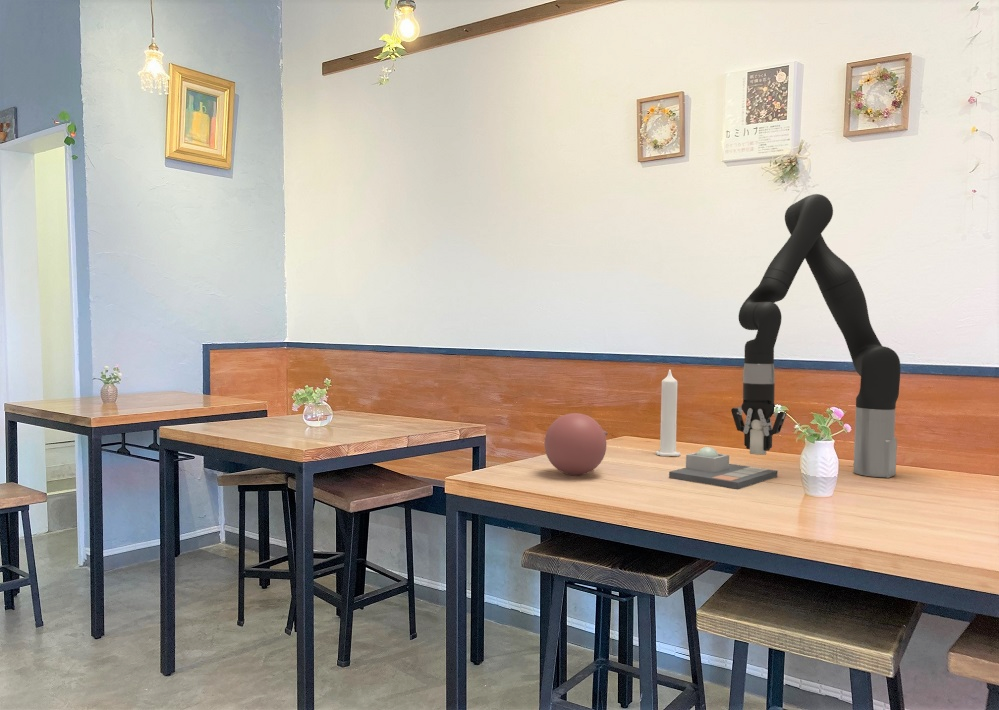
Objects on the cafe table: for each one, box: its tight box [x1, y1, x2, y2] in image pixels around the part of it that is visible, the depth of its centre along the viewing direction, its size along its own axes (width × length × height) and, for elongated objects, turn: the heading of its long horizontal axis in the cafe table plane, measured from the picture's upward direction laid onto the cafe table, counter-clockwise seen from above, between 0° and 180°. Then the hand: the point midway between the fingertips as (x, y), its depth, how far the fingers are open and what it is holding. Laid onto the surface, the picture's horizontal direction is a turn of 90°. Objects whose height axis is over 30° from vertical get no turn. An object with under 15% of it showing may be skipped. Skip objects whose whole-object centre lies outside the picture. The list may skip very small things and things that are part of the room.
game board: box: [668, 451, 778, 490], centre depth 189 cm, size 18×22×5 cm
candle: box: [655, 369, 681, 457], centre depth 221 cm, size 7×7×25 cm
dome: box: [697, 446, 719, 458], centre depth 192 cm, size 5×5×5 cm
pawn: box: [749, 420, 767, 456], centre depth 191 cm, size 4×4×9 cm
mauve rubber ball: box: [543, 412, 609, 476], centre depth 190 cm, size 15×20×15 cm
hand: (757, 449), depth 191 cm, fingers closed on pawn, 4 cm apart
